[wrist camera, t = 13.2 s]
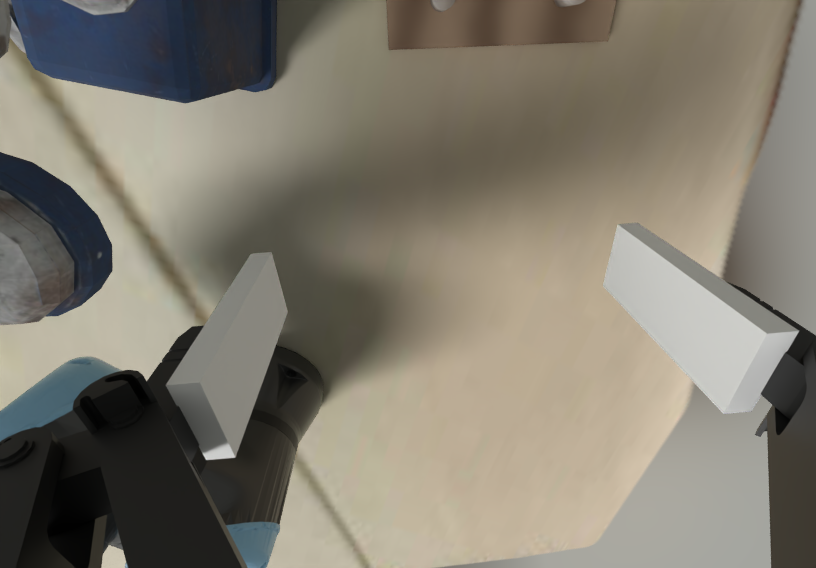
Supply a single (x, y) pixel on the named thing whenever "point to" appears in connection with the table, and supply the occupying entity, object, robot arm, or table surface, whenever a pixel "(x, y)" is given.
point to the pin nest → (496, 22)
